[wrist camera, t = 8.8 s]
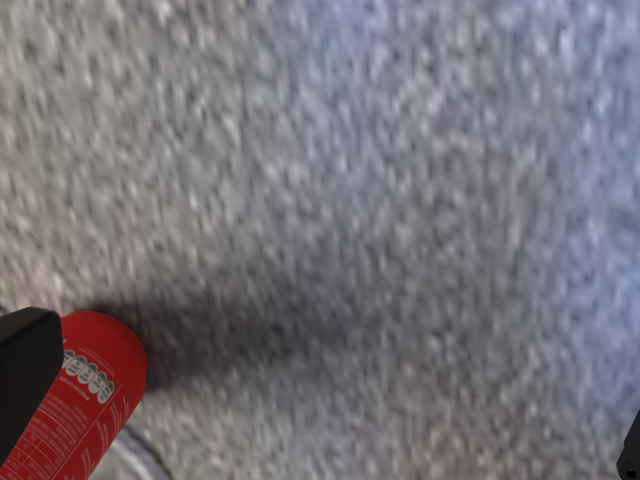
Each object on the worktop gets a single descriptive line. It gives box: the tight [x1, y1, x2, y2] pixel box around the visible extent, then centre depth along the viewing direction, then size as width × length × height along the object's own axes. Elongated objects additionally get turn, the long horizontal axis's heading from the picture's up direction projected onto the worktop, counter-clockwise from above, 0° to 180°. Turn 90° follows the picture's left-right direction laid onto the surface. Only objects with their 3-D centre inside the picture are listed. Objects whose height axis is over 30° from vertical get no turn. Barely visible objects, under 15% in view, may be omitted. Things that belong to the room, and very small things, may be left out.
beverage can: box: [0, 310, 148, 480], centre depth 20 cm, size 5×5×12 cm
